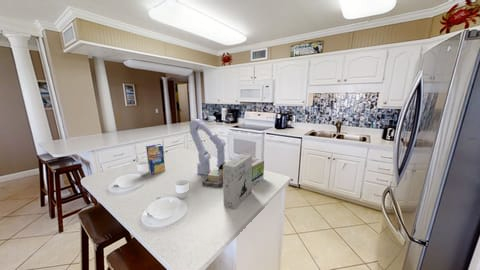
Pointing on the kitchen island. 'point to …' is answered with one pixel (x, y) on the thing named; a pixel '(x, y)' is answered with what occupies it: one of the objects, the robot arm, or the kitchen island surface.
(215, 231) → the kitchen island surface
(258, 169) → the tea box
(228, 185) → the cereal box
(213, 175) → the kraft carton
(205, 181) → the shallow grey tray
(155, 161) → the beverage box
